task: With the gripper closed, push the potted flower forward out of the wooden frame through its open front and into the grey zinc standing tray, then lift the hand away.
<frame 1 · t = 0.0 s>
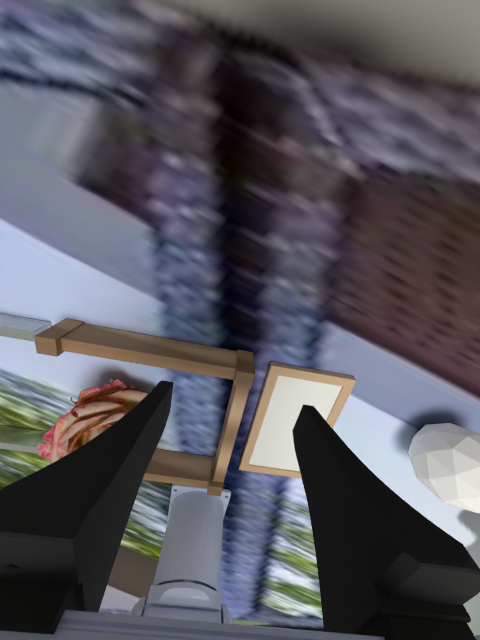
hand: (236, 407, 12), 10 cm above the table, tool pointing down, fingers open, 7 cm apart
wooden frame: (157, 403, 25), on the table
ball: (426, 432, 27), on the table
frame lid: (290, 424, 26), on the table
flower: (126, 397, 25), on the table
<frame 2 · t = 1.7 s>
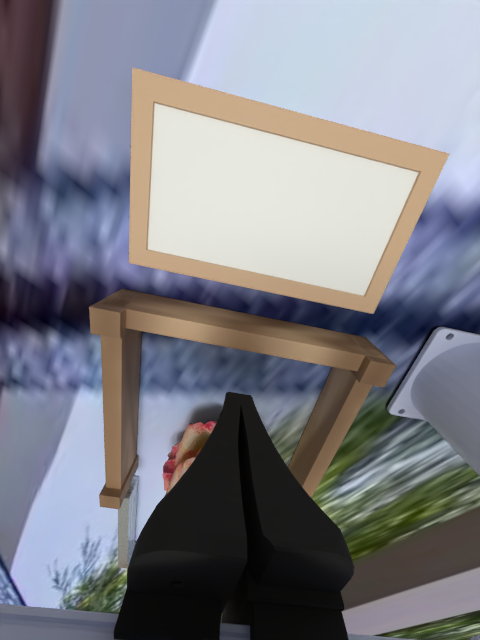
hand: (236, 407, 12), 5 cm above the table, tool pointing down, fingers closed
wooden frame: (225, 410, 19), on the table
stand tray: (197, 523, 26), on the table
frame lid: (273, 213, 13), on the table
flower: (218, 436, 21), on the table
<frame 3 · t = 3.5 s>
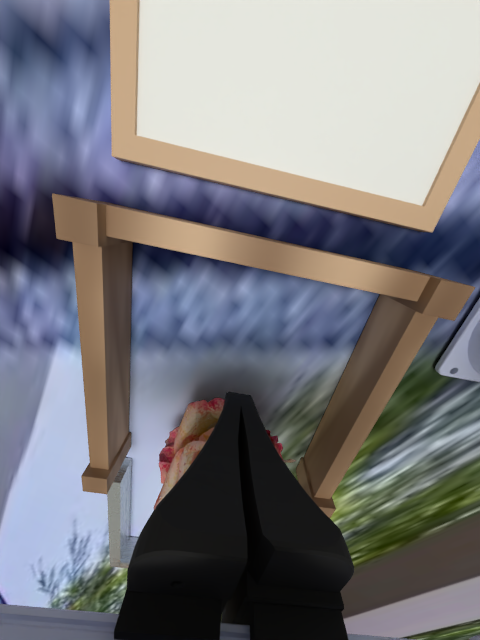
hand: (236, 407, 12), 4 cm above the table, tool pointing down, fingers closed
wooden frame: (236, 372, 16), on the table
stand tray: (201, 515, 22), on the table
frame lid: (306, 83, 10), on the table
flower: (224, 420, 18), on the table, touching gripper
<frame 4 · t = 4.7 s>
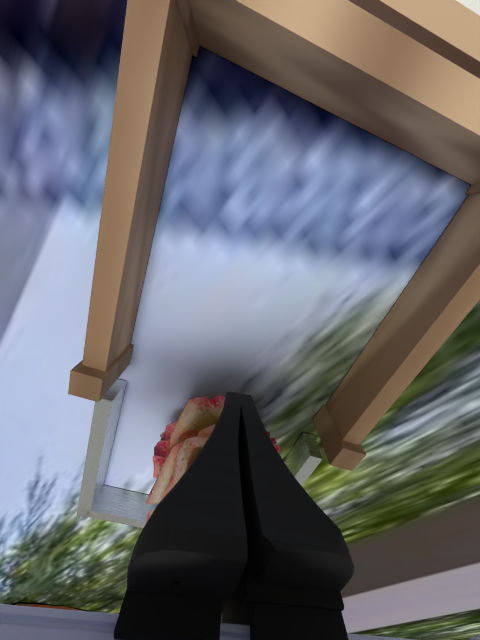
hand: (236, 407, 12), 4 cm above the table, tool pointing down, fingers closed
wooden frame: (277, 279, 13), on the table
stand tray: (193, 465, 20), on the table
flower: (221, 418, 18), on the table, touching gripper
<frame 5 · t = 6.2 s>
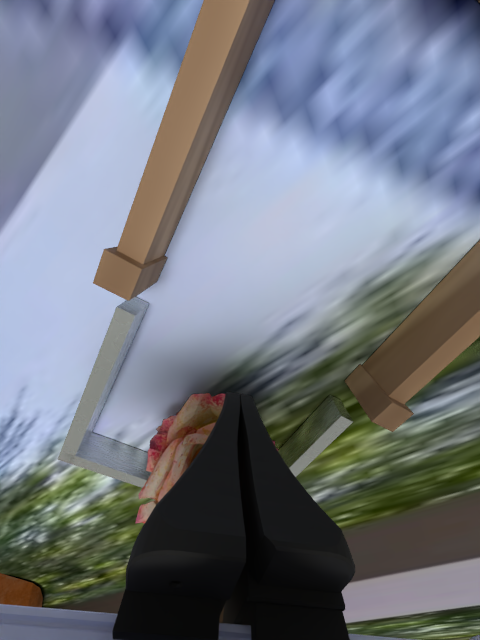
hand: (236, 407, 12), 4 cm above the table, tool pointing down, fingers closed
wooden frame: (352, 200, 12), on the table
stand tray: (201, 420, 18), on the table
flower: (217, 416, 18), on the table, touching gripper
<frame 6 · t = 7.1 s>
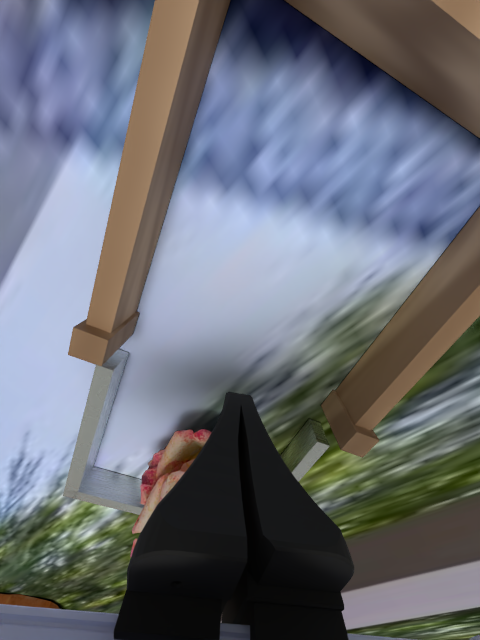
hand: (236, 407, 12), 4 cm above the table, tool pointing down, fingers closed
bread: (25, 634, 36), on the table
wooden frame: (300, 249, 12), on the table
stand tray: (191, 449, 19), on the table
flower: (206, 444, 19), on the table
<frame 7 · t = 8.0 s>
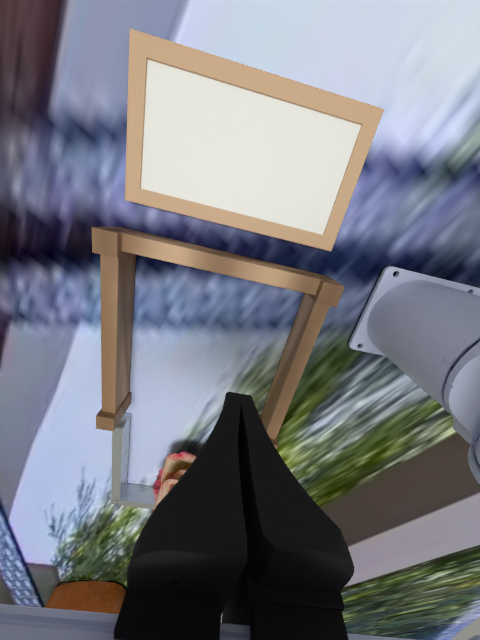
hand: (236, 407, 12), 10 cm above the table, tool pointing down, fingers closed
bread: (108, 614, 47), on the table
wooden frame: (208, 345, 22), on the table
stand tray: (184, 463, 29), on the table
frame lid: (246, 160, 16), on the table
flower: (193, 459, 29), on the table
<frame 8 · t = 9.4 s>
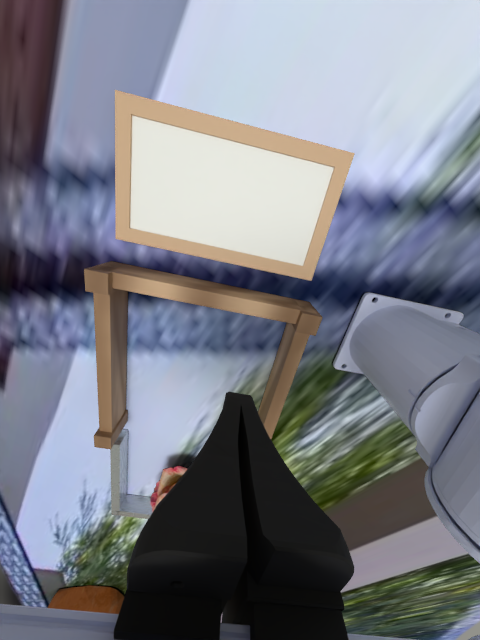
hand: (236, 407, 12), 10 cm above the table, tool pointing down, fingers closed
bread: (112, 617, 49), on the table
wooden frame: (199, 367, 23), on the table
stand tray: (181, 475, 30), on the table
frame lid: (227, 199, 17), on the table
flower: (189, 471, 30), on the table
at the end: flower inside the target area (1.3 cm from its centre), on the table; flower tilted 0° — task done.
